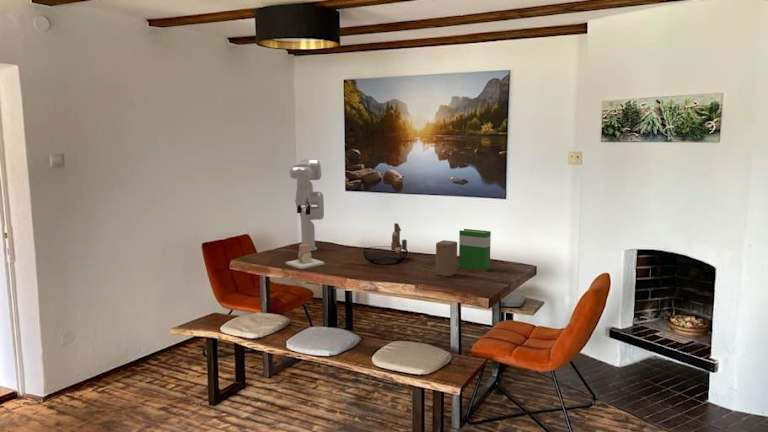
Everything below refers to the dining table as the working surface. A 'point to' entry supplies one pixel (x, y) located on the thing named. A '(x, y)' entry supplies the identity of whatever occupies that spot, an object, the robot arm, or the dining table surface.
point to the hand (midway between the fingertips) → (303, 213)
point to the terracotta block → (304, 248)
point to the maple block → (304, 257)
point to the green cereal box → (474, 249)
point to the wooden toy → (397, 240)
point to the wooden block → (446, 258)
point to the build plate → (304, 265)
